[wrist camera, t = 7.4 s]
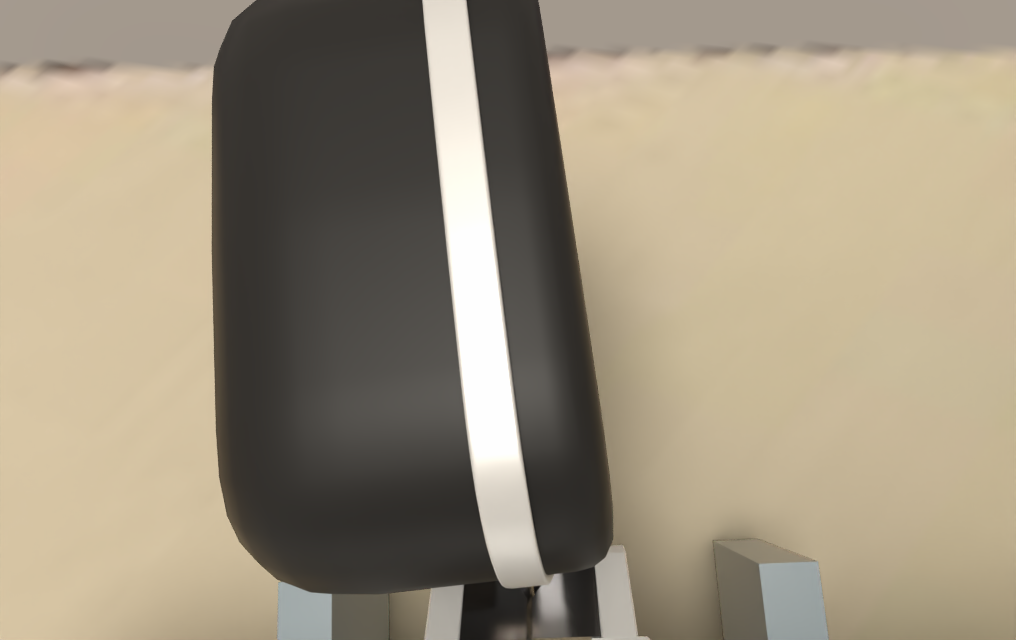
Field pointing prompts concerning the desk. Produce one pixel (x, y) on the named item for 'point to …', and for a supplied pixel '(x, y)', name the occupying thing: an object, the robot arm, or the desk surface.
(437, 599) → the robot arm
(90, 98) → the desk surface
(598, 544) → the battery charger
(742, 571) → the channel
